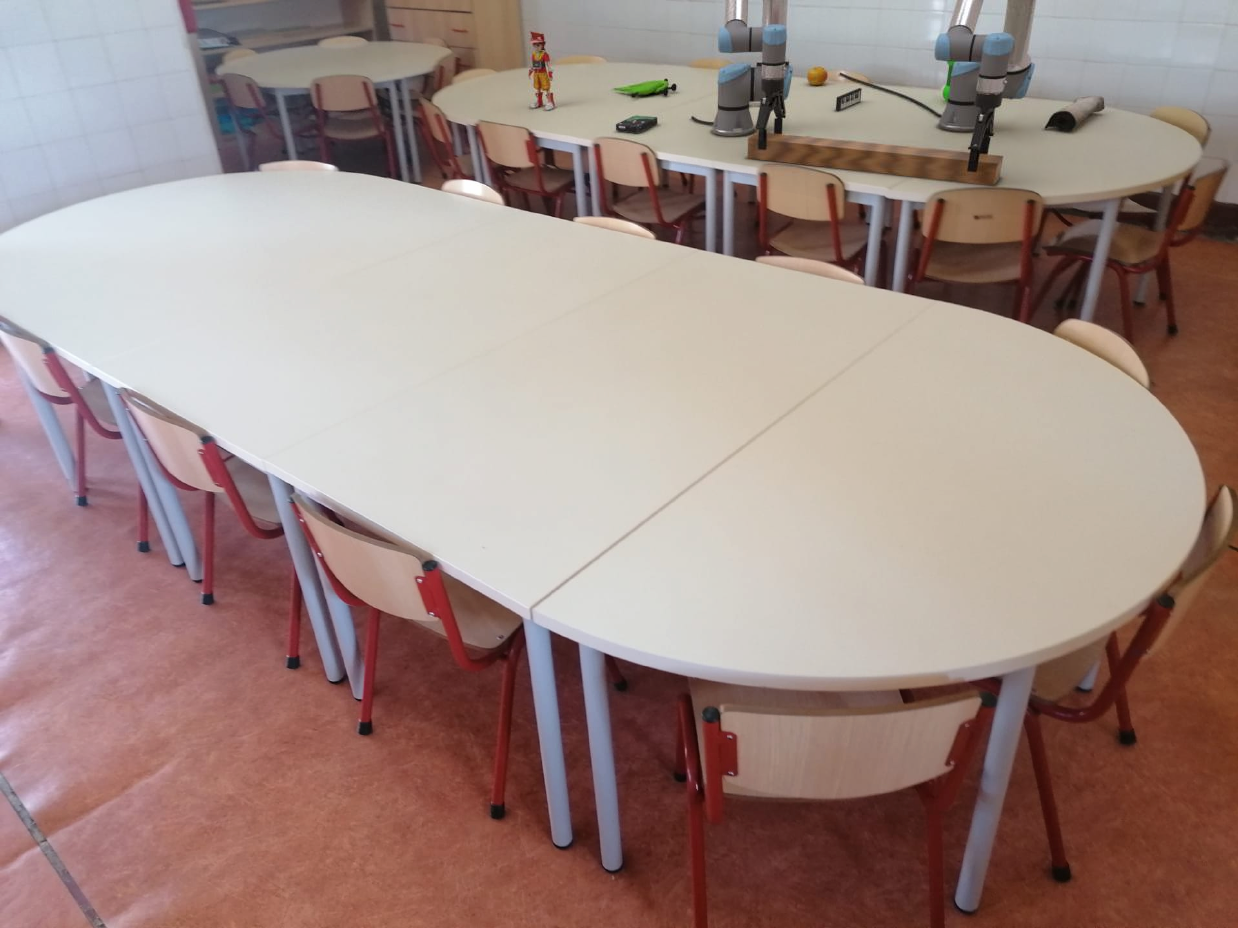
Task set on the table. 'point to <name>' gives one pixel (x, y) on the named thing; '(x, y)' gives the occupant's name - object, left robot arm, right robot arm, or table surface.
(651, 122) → the disk drive
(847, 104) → the midi keyboard
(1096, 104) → the rolled mat
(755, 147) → the slab
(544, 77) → the toy
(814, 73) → the fruit
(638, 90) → the toy
